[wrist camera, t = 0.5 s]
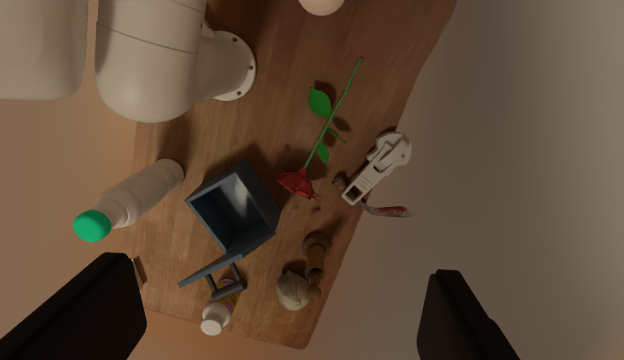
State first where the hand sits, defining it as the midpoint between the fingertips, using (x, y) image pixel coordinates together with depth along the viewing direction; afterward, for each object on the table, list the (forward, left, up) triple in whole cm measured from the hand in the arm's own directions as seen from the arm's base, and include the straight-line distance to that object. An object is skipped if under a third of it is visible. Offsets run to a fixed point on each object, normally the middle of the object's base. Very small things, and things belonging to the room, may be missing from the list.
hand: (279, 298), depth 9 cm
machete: (+24, +2, -54) cm, 59 cm away
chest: (+10, -26, -54) cm, 61 cm away
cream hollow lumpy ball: (+36, -27, -54) cm, 71 cm away
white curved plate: (+15, -62, -53) cm, 82 cm away
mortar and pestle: (+29, -17, -54) cm, 64 cm away
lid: (+15, -26, -38) cm, 48 cm away
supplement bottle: (+30, -44, -54) cm, 76 cm away
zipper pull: (+18, +4, -54) cm, 57 cm away
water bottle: (-3, -37, -54) cm, 66 cm away
